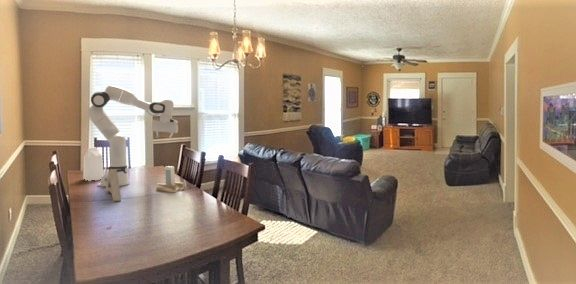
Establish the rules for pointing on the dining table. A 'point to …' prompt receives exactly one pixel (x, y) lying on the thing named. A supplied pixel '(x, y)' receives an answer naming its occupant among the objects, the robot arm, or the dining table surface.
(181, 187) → the stand
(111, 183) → the wall bracket
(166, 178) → the white grey box
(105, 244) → the dining table surface
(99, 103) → the robot arm
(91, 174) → the milk
